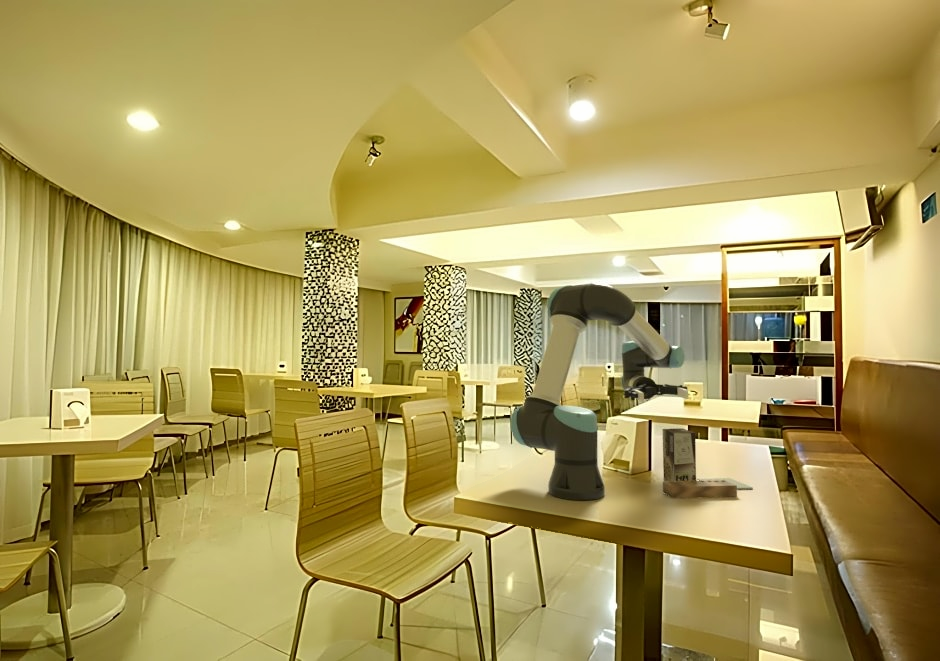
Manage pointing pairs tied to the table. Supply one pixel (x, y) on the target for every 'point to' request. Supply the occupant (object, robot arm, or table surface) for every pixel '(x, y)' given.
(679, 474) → the coffee box
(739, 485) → the stub pad
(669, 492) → the perforated block
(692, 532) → the table surface
